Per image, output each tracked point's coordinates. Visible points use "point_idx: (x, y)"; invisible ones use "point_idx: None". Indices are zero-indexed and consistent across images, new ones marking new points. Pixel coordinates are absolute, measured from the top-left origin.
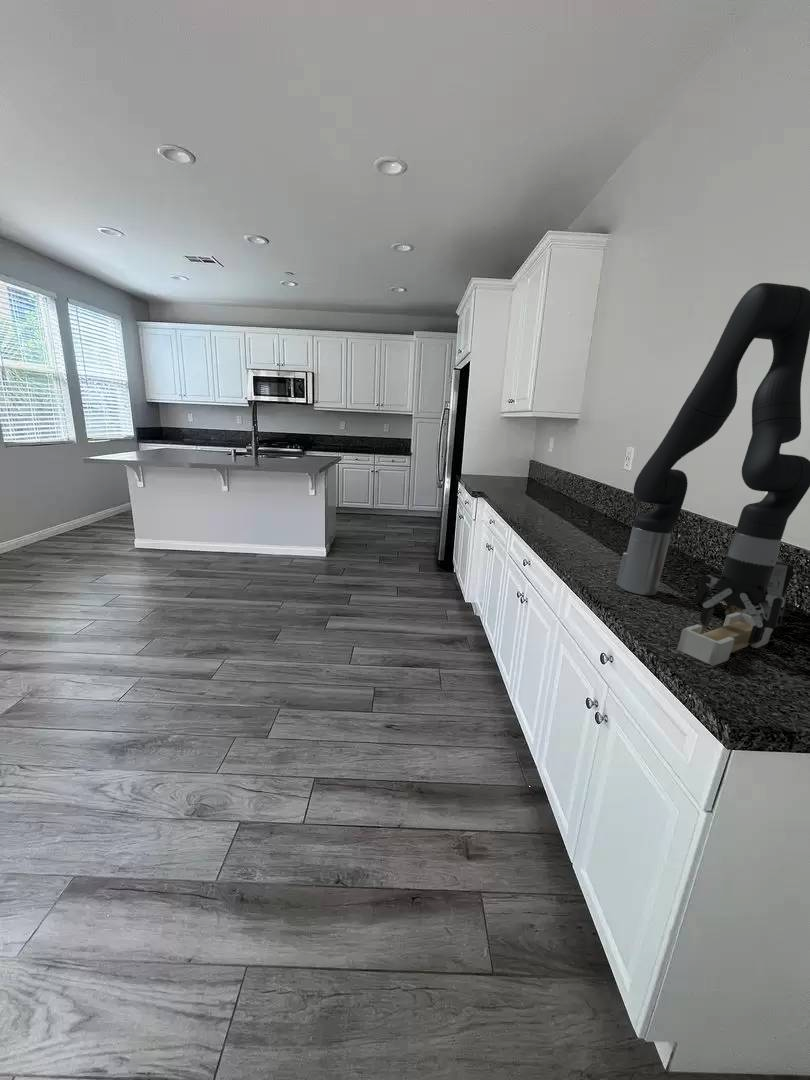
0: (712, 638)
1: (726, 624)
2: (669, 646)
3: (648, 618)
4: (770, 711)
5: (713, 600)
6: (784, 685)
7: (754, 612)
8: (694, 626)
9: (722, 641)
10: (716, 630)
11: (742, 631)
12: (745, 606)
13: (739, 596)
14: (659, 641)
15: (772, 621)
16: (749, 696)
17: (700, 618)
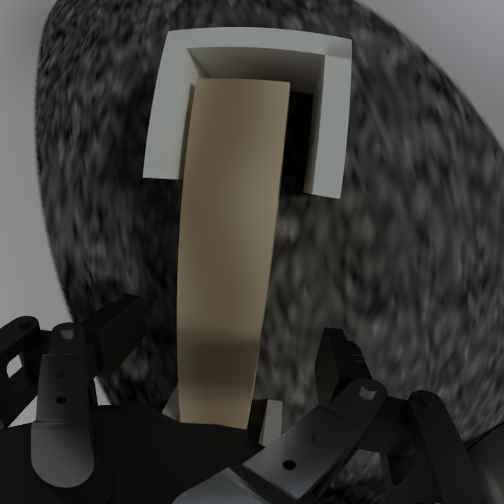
0: (229, 120)
1: (271, 429)
2: (360, 86)
3: (482, 298)
4: (74, 13)
5: (339, 417)
6: (58, 170)
7: (50, 360)
8: (336, 136)
9: (168, 72)
10: (257, 271)
11: (188, 376)
12: (86, 395)
13: (127, 481)
14: (399, 99)
15: (9, 331)
16: (104, 18)
17: (357, 348)
